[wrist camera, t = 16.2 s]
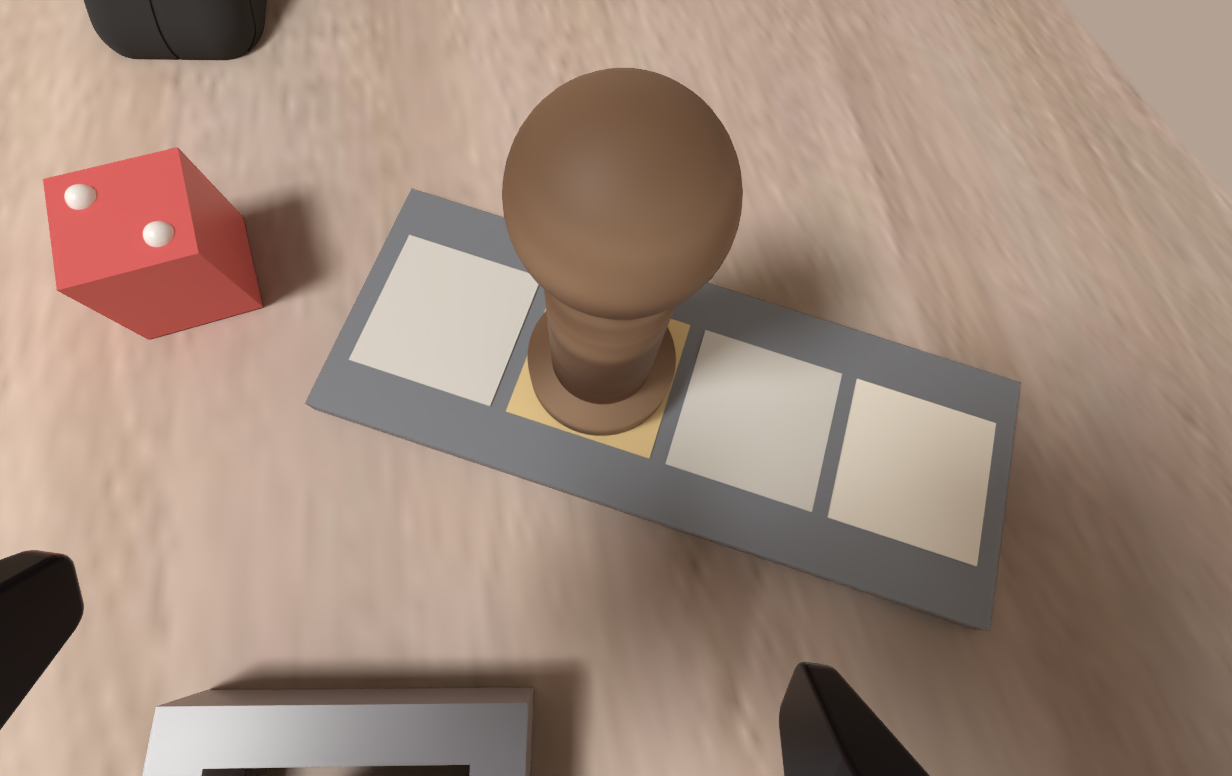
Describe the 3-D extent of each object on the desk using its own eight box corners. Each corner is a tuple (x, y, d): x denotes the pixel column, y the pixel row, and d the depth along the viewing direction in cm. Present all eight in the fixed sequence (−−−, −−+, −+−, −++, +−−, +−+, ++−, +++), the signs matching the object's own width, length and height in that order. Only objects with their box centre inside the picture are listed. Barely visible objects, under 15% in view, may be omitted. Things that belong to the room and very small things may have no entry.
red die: (263, 307, 22) (191, 247, 18) (148, 339, 22) (47, 285, 18) (243, 216, 23) (170, 139, 19) (132, 244, 23) (33, 172, 19)
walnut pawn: (691, 409, 21) (839, 207, 9) (556, 455, 21) (530, 300, 9) (641, 285, 23) (716, -31, 11) (512, 325, 22) (435, 31, 10)
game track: (1005, 388, 23) (1022, 382, 22) (974, 629, 21) (991, 631, 20) (416, 200, 24) (411, 187, 23) (314, 409, 21) (304, 402, 21)
